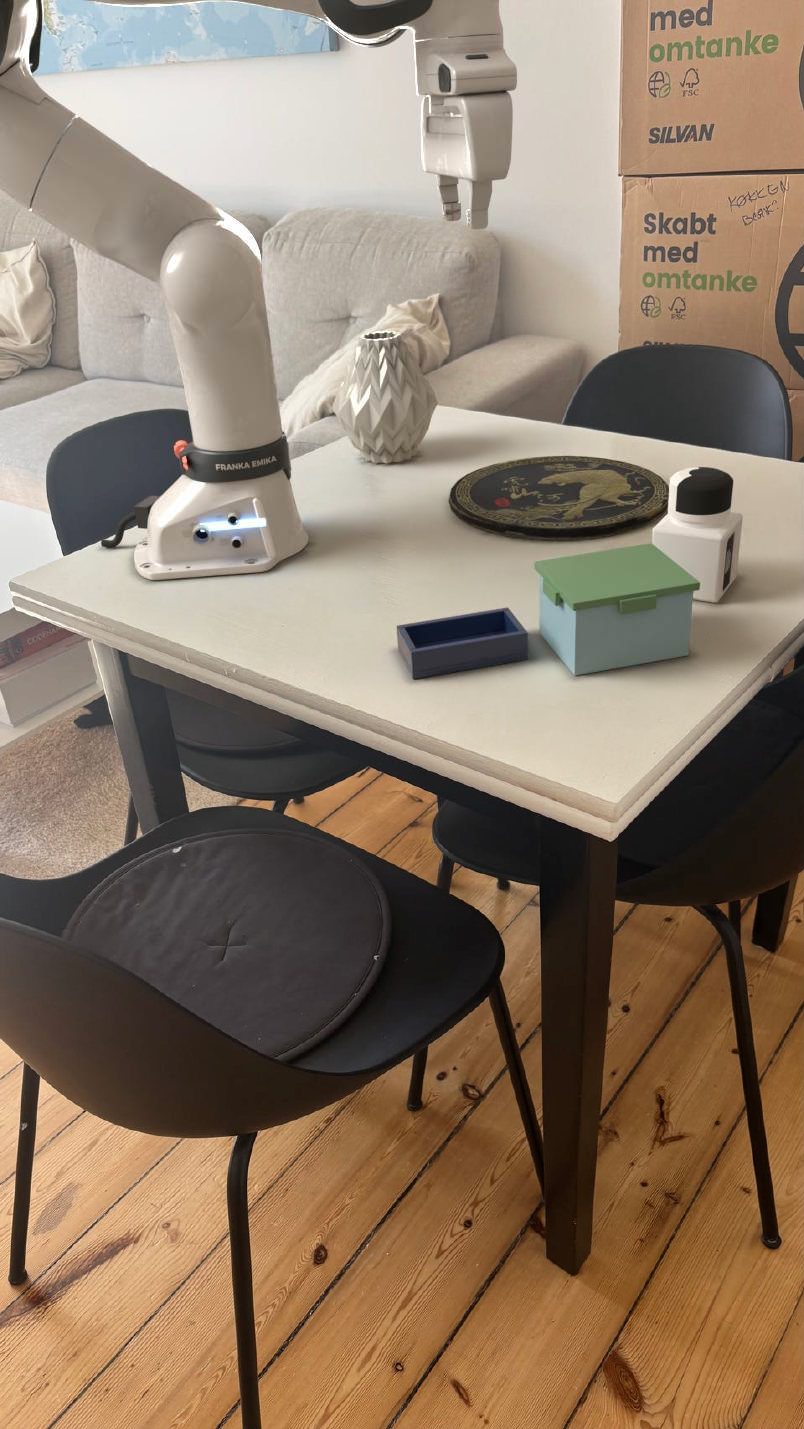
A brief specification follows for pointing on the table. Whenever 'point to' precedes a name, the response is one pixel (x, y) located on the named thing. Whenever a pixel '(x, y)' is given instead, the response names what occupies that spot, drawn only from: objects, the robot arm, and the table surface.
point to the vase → (384, 399)
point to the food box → (615, 608)
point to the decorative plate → (559, 497)
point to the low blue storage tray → (462, 642)
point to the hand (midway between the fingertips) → (464, 224)
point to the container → (702, 529)
